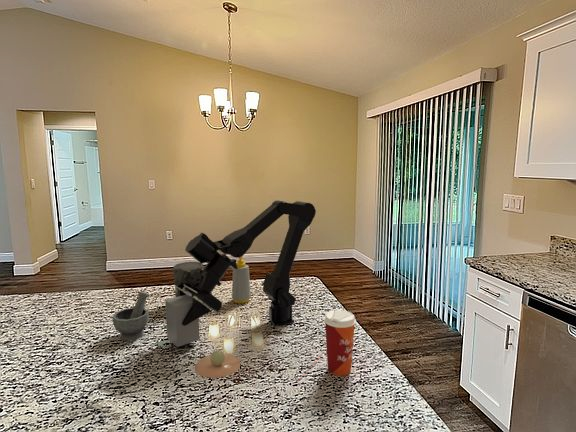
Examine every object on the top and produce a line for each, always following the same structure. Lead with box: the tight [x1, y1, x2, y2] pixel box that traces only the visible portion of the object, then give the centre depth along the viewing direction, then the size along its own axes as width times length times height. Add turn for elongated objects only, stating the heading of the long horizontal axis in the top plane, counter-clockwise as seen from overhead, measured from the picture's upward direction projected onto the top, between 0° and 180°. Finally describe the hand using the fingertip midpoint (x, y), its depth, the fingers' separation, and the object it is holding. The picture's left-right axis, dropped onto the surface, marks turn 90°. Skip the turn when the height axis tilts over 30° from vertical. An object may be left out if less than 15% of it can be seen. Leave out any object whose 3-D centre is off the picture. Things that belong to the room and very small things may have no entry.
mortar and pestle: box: [112, 291, 150, 342], centre depth 111 cm, size 11×9×12 cm
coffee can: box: [172, 261, 204, 300], centre depth 136 cm, size 10×10×14 cm
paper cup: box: [323, 309, 357, 377], centre depth 92 cm, size 8×8×14 cm
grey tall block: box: [164, 294, 201, 348], centre depth 102 cm, size 6×6×11 cm
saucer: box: [194, 349, 241, 379], centre depth 92 cm, size 11×11×5 cm
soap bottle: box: [231, 256, 252, 304], centre depth 138 cm, size 7×7×18 cm
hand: (177, 320), depth 101 cm, fingers closed on grey tall block, 6 cm apart
